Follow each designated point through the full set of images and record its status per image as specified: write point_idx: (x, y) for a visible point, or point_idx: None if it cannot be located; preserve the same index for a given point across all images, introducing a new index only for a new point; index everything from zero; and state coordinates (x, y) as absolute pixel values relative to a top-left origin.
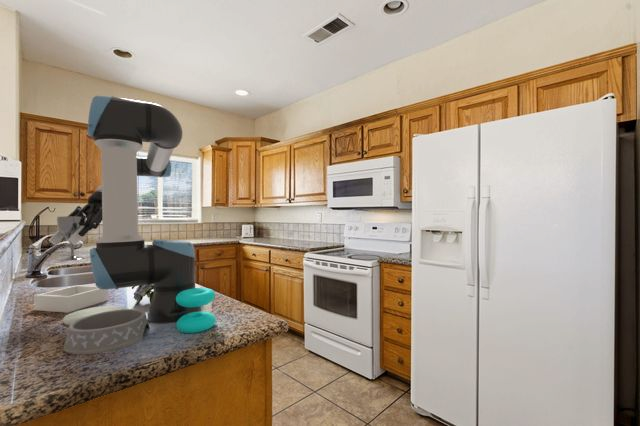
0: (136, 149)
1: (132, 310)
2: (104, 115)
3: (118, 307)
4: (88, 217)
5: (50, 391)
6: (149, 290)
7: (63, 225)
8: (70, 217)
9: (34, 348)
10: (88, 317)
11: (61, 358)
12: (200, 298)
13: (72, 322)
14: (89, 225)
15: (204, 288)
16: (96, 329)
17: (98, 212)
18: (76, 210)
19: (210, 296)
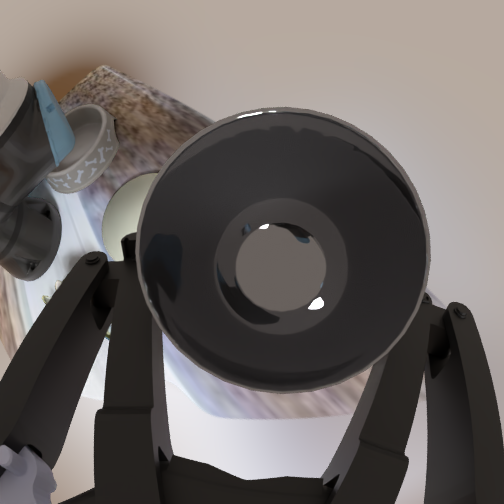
0: None
1: (53, 172)
2: None
3: (119, 256)
4: (137, 336)
5: (87, 78)
6: (60, 284)
7: (264, 160)
8: (200, 138)
9: (149, 111)
10: (97, 137)
11: (105, 105)
12: None
13: (154, 174)
14: (115, 265)
15: None
16: (70, 110)
17: (25, 371)
18: (476, 493)
19: None
